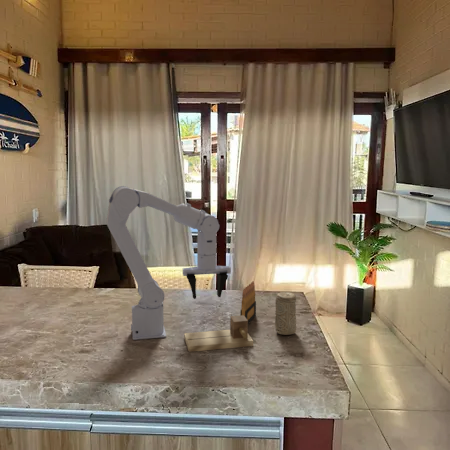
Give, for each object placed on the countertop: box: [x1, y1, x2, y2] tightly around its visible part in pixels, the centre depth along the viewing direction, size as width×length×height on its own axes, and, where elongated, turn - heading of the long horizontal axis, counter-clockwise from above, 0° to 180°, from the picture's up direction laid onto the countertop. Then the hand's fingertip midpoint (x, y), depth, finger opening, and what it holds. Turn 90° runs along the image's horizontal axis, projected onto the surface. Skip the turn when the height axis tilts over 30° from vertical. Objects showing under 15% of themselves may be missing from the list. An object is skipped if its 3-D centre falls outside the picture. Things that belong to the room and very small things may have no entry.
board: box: [183, 329, 254, 353], centre depth 119 cm, size 18×9×2 cm, turn 103°
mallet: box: [229, 315, 249, 339], centre depth 118 cm, size 4×9×5 cm, turn 13°
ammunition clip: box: [239, 281, 257, 325], centre depth 135 cm, size 11×2×12 cm, turn 159°
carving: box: [274, 291, 297, 336], centre depth 125 cm, size 6×8×12 cm
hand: (206, 297), depth 130 cm, fingers open, 7 cm apart
